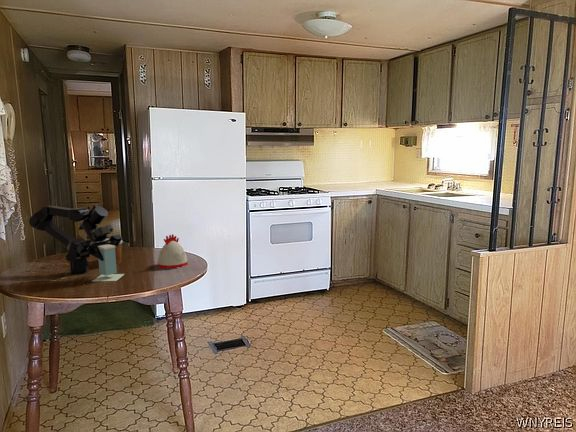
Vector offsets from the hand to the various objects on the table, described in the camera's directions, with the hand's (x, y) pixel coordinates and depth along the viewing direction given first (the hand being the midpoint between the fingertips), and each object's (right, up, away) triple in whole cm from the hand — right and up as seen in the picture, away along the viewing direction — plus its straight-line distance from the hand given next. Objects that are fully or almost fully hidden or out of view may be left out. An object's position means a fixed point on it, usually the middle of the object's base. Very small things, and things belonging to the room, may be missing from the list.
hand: (108, 259), depth 181 cm
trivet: (-1, -8, +2) cm, 9 cm away
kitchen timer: (+21, -5, +23) cm, 32 cm away
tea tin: (-1, -6, +2) cm, 7 cm away
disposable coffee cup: (-9, -5, +26) cm, 28 cm away
